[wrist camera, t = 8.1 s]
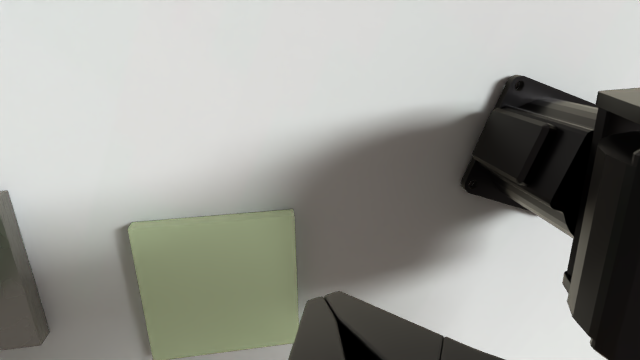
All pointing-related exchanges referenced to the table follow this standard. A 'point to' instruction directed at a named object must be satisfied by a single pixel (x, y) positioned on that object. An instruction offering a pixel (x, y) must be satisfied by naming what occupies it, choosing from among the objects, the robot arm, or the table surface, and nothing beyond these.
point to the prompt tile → (217, 282)
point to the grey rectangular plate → (17, 287)
